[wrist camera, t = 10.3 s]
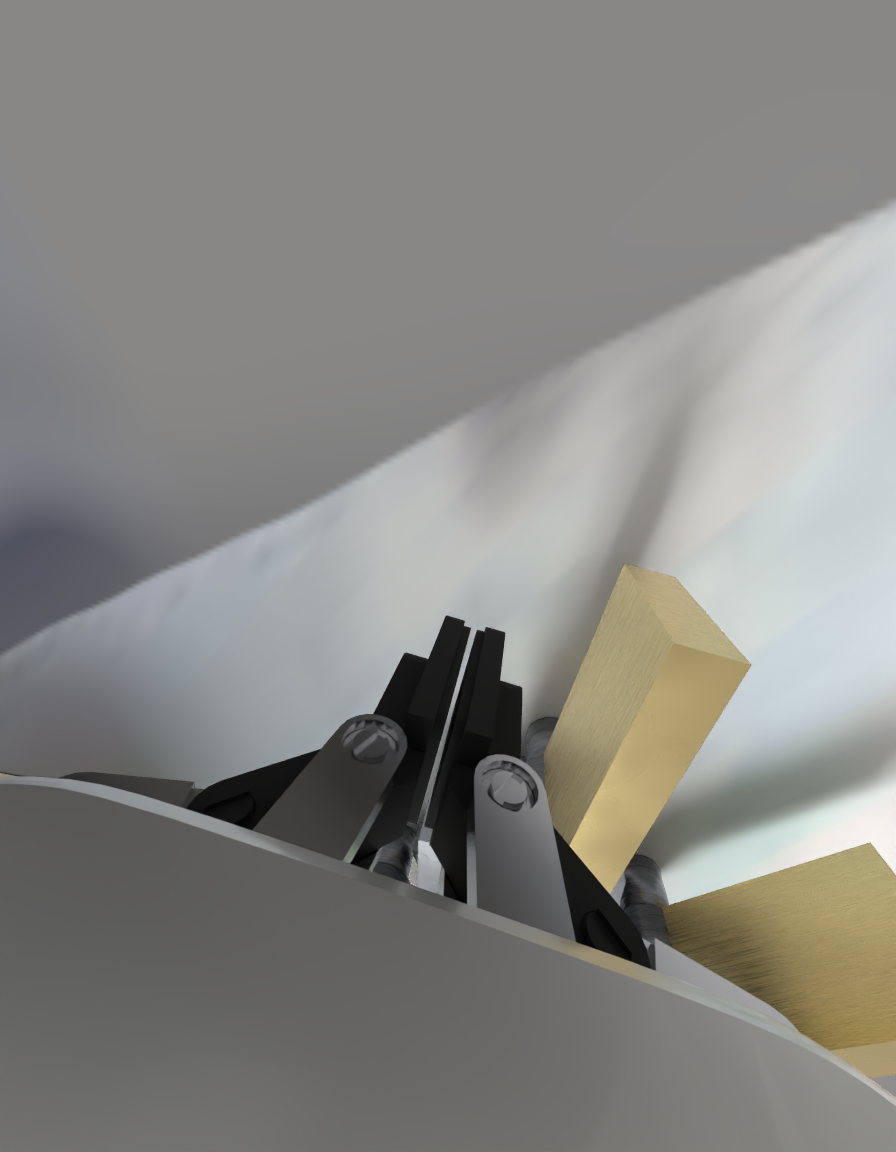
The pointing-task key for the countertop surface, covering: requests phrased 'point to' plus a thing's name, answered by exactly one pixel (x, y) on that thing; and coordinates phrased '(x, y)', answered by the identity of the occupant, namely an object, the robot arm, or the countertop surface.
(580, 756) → the tan block
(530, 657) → the countertop surface
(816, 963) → the brushed brass bar
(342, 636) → the countertop surface
